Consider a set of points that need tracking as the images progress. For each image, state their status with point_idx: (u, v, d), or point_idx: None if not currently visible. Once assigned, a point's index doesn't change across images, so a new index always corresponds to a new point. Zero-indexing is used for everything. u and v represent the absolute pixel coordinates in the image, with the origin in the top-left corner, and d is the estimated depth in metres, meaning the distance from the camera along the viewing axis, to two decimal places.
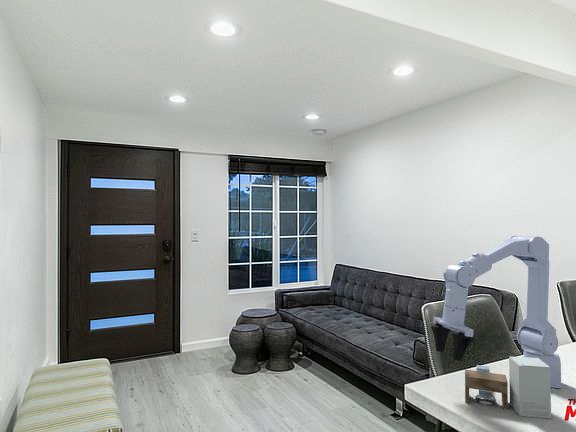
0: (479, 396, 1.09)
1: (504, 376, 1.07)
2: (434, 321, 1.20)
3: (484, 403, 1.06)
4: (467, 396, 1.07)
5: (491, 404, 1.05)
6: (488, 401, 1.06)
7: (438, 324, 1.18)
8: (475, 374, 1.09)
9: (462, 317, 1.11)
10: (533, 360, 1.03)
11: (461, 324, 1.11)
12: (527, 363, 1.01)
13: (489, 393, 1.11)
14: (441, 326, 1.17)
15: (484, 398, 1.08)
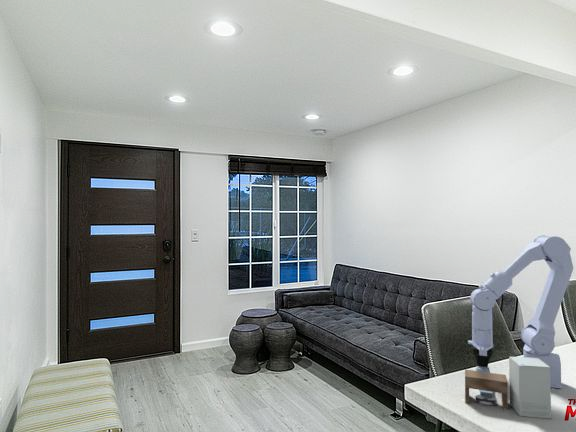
0: (479, 396, 1.09)
1: (504, 376, 1.07)
2: None
3: (484, 403, 1.05)
4: (467, 396, 1.07)
5: (491, 404, 1.05)
6: (488, 401, 1.06)
7: None
8: (475, 374, 1.09)
9: (485, 337, 1.22)
10: (533, 360, 1.03)
11: (485, 344, 1.22)
12: (527, 363, 1.01)
13: (491, 395, 1.09)
14: None
15: (484, 398, 1.08)
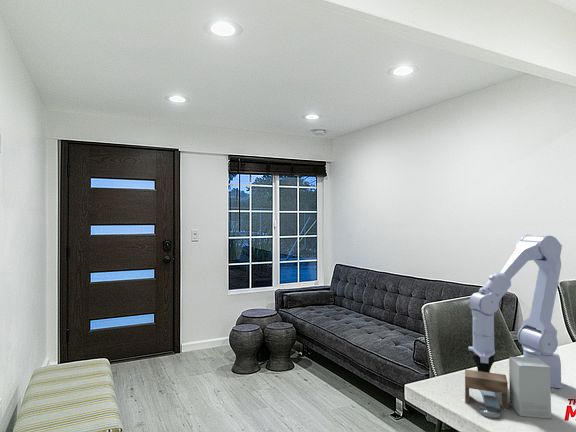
0: (483, 408, 1.02)
1: (504, 376, 1.07)
2: None
3: (489, 416, 0.99)
4: (467, 396, 1.07)
5: (496, 417, 0.98)
6: (493, 414, 0.99)
7: None
8: (475, 374, 1.09)
9: (486, 344, 1.16)
10: (533, 360, 1.03)
11: (486, 350, 1.16)
12: (527, 363, 1.01)
13: (497, 406, 1.03)
14: None
15: (489, 410, 1.01)
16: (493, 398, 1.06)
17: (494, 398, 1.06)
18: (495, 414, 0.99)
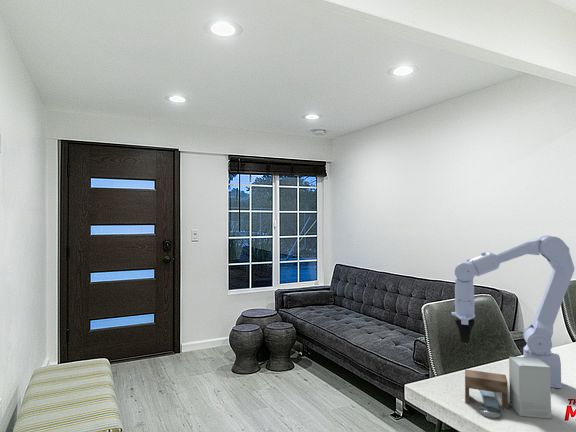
0: (483, 408, 1.02)
1: (504, 376, 1.07)
2: None
3: (489, 416, 0.99)
4: (467, 396, 1.07)
5: (496, 417, 0.98)
6: (493, 414, 0.99)
7: None
8: (475, 374, 1.09)
9: (467, 308, 1.27)
10: (533, 360, 1.03)
11: (467, 314, 1.27)
12: (527, 363, 1.01)
13: (496, 406, 1.03)
14: None
15: (489, 410, 1.01)
16: (493, 399, 1.06)
17: (493, 398, 1.06)
18: (495, 414, 0.99)
